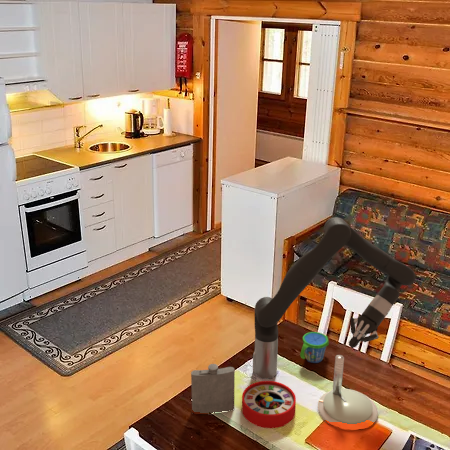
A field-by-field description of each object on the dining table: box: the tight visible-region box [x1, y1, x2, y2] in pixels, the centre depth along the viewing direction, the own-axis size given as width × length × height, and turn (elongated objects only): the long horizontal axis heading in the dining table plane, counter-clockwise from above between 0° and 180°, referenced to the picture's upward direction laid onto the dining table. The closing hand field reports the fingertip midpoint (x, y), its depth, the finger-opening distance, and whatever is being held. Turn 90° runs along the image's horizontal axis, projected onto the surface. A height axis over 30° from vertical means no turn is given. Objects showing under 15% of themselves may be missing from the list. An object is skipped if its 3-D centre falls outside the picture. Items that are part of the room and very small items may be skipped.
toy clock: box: [241, 380, 297, 429], centre depth 213 cm, size 20×6×20 cm
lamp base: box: [317, 389, 379, 423], centre depth 214 cm, size 22×22×1 cm
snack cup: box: [299, 331, 330, 364], centre depth 243 cm, size 16×10×10 cm
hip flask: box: [190, 363, 236, 413], centre depth 210 cm, size 16×4×20 cm, turn 99°
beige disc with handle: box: [323, 354, 373, 424], centre depth 210 cm, size 18×18×17 cm
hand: (350, 346), depth 217 cm, fingers closed
